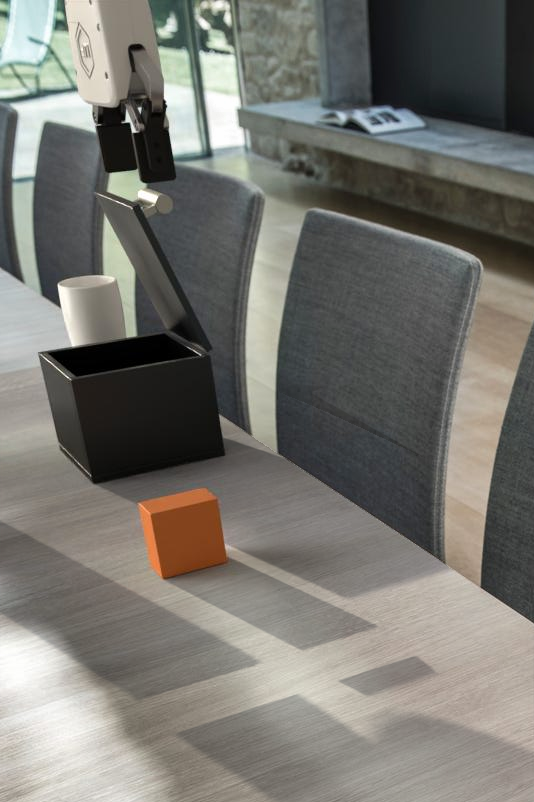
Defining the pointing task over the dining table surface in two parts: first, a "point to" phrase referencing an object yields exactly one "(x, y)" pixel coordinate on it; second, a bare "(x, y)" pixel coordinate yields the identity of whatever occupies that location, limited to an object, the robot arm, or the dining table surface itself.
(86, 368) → the bin
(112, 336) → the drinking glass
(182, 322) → the bin lid
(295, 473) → the dining table surface
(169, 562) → the orange block
